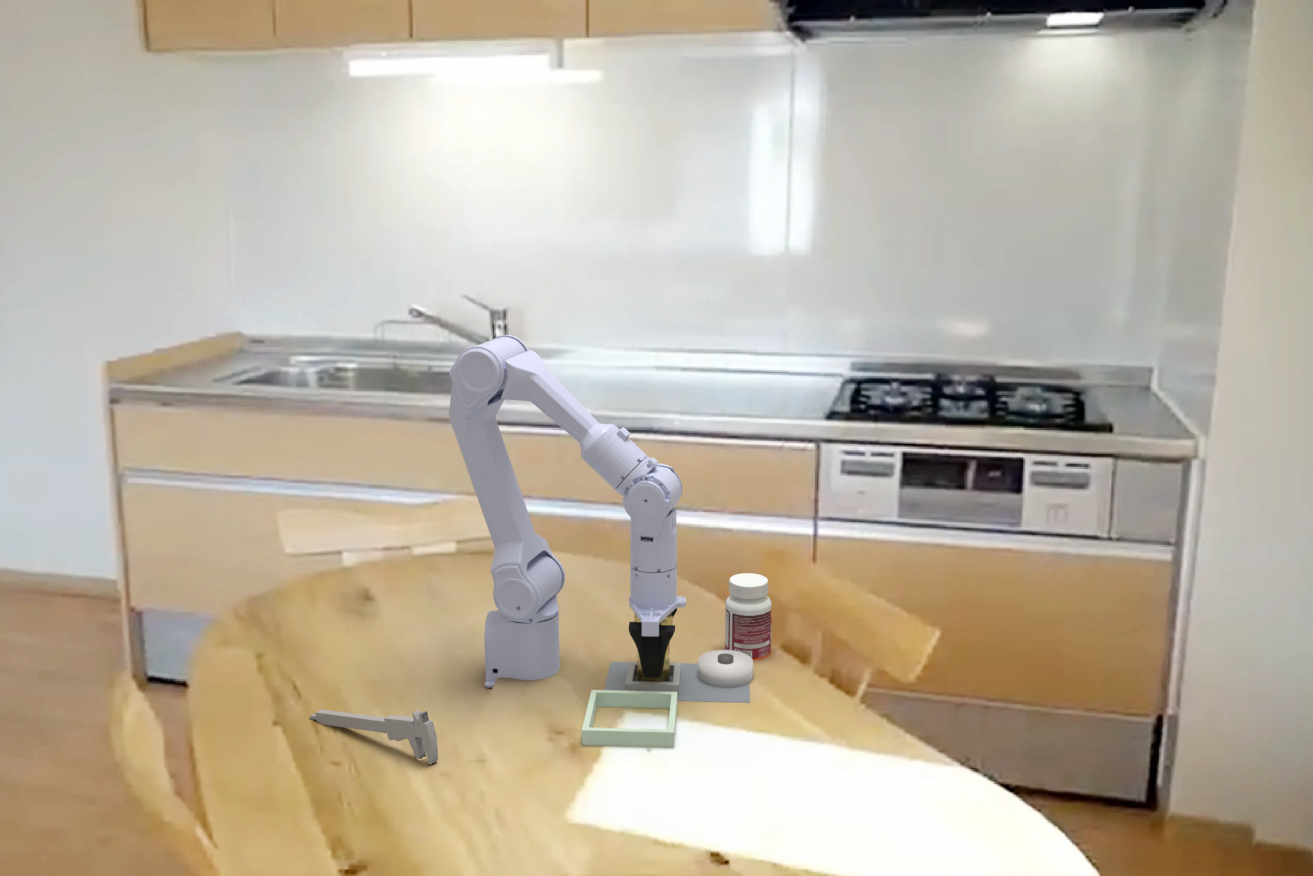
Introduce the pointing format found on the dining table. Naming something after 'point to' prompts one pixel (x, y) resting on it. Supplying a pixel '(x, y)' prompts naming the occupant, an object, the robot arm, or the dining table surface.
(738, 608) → the pill bottle
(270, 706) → the dining table surface
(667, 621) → the lock pin
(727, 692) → the board
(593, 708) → the tray
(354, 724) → the caliper
